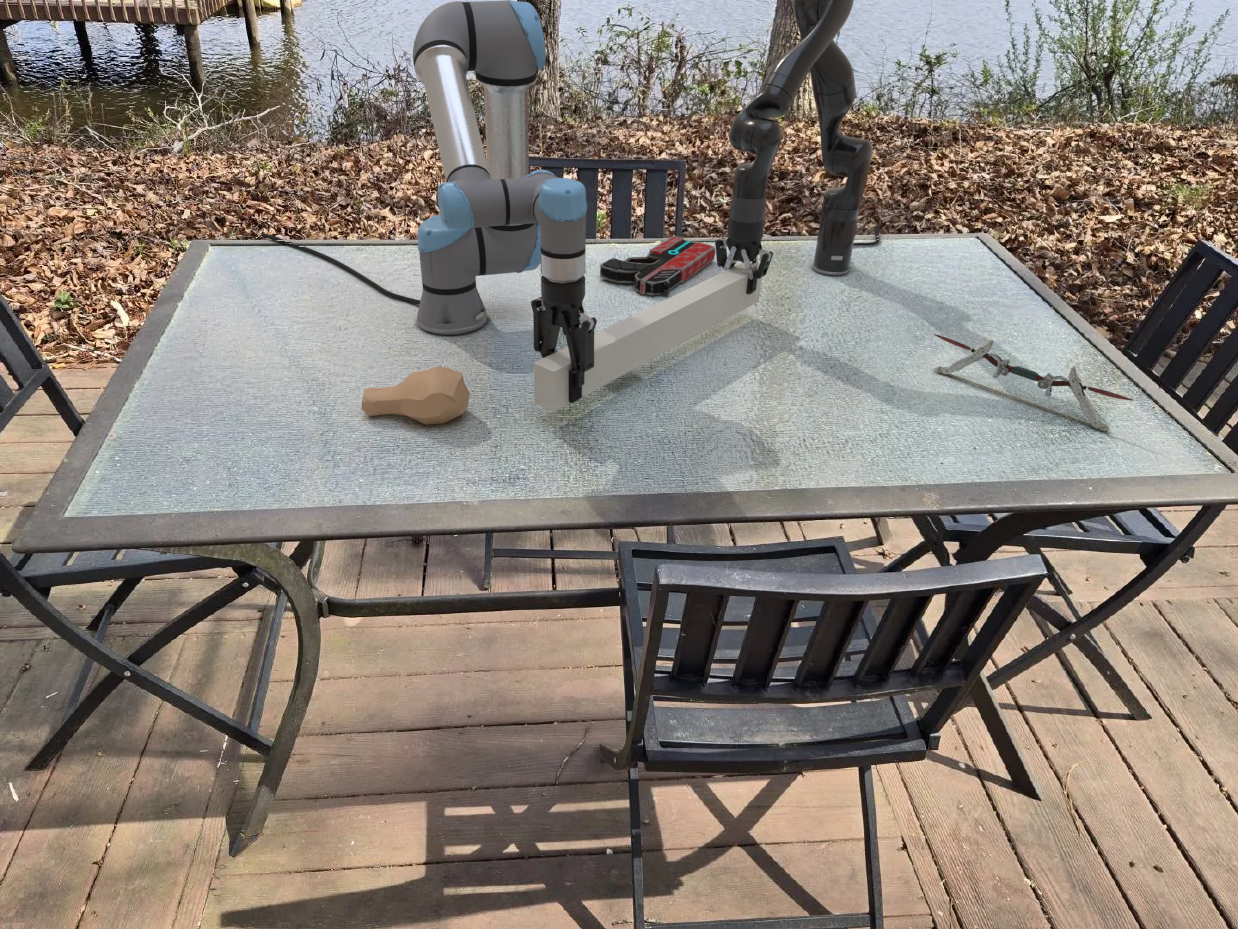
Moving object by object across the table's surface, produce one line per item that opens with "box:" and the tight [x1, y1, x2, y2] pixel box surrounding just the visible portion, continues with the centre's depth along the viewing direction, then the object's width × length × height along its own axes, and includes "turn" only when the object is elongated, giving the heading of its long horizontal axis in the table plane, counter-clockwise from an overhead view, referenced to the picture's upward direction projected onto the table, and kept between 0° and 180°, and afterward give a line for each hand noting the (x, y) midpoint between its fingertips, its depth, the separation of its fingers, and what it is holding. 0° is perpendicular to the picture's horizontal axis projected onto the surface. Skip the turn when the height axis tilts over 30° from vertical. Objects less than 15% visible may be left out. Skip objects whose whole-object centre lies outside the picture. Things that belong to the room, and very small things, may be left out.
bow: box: [934, 333, 1134, 432], centre depth 170 cm, size 39×2×10 cm, turn 47°
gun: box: [599, 235, 716, 297], centre depth 224 cm, size 4×31×19 cm
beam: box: [533, 262, 763, 413], centre depth 178 cm, size 68×5×8 cm, turn 140°
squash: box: [361, 365, 471, 426], centre depth 160 cm, size 11×20×9 cm, turn 90°
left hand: (563, 394), depth 161 cm, fingers closed on beam, 5 cm apart
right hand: (739, 289), depth 197 cm, fingers closed on beam, 5 cm apart
